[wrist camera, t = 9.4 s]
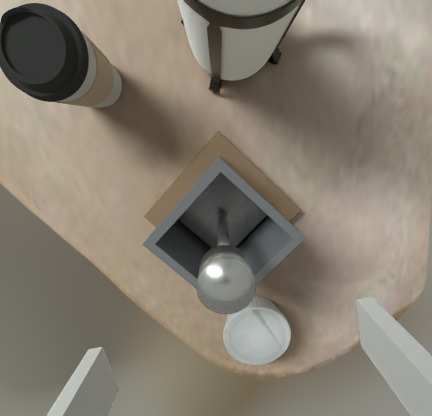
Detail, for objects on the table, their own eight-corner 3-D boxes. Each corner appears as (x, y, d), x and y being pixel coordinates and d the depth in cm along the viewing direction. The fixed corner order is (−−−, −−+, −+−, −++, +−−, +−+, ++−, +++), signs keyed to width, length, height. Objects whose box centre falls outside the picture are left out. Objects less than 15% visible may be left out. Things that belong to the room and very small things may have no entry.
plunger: (220, 171, 39) (222, 199, 18) (265, 213, 40) (317, 284, 19) (178, 217, 40) (136, 291, 20) (223, 256, 42) (229, 364, 21)
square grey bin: (218, 131, 41) (218, 123, 26) (298, 207, 43) (337, 236, 29) (146, 214, 44) (111, 245, 29) (224, 280, 46) (227, 338, 32)
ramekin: (294, 302, 47) (303, 321, 42) (268, 351, 50) (273, 374, 44) (237, 281, 46) (240, 297, 41) (213, 331, 49) (213, 352, 44)
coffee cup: (138, 102, 40) (92, 76, 25) (86, 124, 40) (11, 111, 26) (113, 41, 38) (46, -27, 23) (58, 65, 39) (-39, 14, 24)
